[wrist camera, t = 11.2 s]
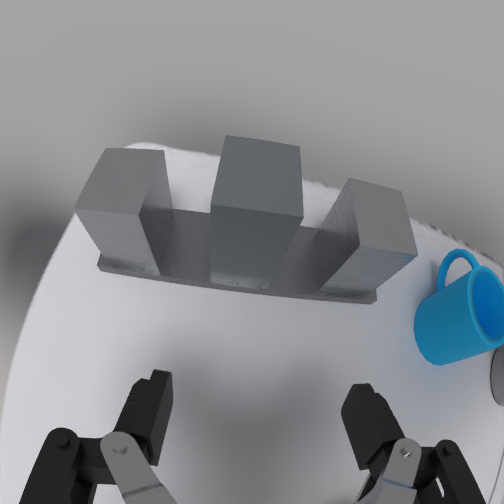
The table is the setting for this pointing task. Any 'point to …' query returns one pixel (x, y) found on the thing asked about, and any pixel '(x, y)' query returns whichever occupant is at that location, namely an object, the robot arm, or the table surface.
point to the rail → (198, 235)
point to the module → (254, 209)
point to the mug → (461, 314)
